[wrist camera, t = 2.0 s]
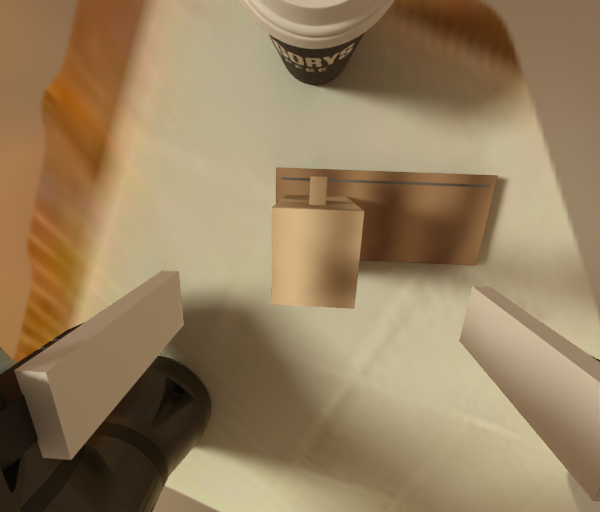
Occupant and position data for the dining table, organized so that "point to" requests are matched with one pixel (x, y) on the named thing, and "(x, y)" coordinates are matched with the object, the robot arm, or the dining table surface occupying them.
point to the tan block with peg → (316, 248)
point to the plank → (408, 211)
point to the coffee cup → (315, 32)
